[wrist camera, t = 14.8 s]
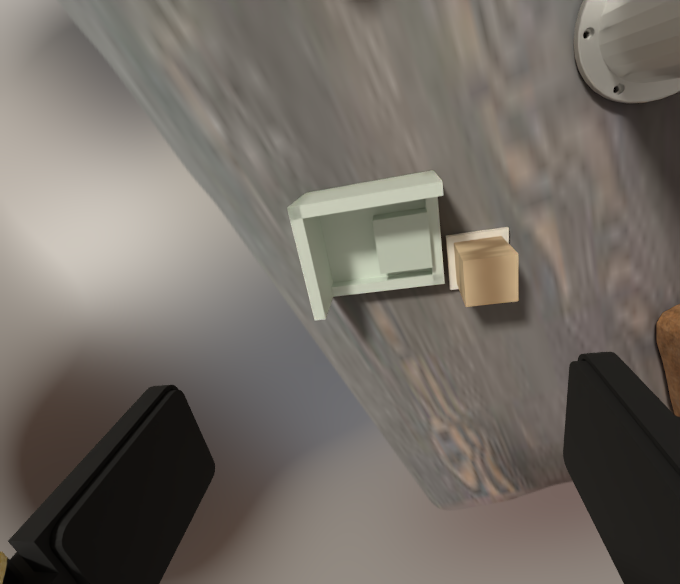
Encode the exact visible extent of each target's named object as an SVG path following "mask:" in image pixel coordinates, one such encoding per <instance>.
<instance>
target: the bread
mask: <svg viewBox="0 0 680 584" xmlns="http://www.w3.org/2000/svg"><path fill="white" fill-rule="evenodd" d="M657 345H658V348H659V352H660V355H661V358H662V361H663V365H664V369H665V374H666V378H667V383H668V389H669V394H670V399H671V403H672V407H673V410H674V414H675V415H676V416H679V417H680V304H679V305H677V306H674V307H672V308H671V309H669V310H667V311H665V312H663V313H662V315H661V317H660V318H659V320H658V322H657Z"/></svg>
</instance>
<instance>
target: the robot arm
mask: <svg viewBox="0 0 680 584" xmlns="http://www.w3.org/2000/svg"><path fill="white" fill-rule="evenodd" d="M584 32H585V33H587V36H586V38H585V39H584V37H583V33H584ZM574 53H575V59H576V63H577V66H578V69H579V72H580V74H581V75H582V77H583V79H584V81H585V82H586V83H587V84H588V85H589V87H590V88H591V89H592V90H593V91H594V92H596V93H597V94H599V95H601V96H602V97H604V98H606V99H609V100H612V101H615V102H620V103H645V102H650V101H655V100H660V99H663V98H665V97H668V96H671V95H673V94H676V93H678V92H679V91H680V0H583V2H582V5H581V7H580V10H579V13H578V17H577V21H576V25H575V33H574ZM614 87H616V91H615V92H613V90H614ZM563 456H564V461H565V465H566V468H567V470H568V472H569V474H570V476H571V478H572V480H573V482H574V484H575V486H576V488H577V490H578V492H579V494H580V496H581V498H582V500H583V502H584V504H585V506H586V508H587V510H588V512H589V514H590V516H591V518H592V520H593V522H594V524H595V526H596V528H597V530H598V532H599V534H600V536H601V538H602V540H603V542H604V544H605V546H606V548H607V550H608V552H609V554H610V556H611V558H612V560H613V562H614V564H615V566H616V568H617V570H618V572H619V575H620V576H621V578H622V581H623V582H624V584H680V417H679V416H676V415H674V414H673V413H672V412H671V411H670V410H669V409H668V408H667V407H666V406H665V405H664V404H663V403H662V402H661V401H660V400H659V398H658V397H657V396H656V395H655V394H654V393H653V392H652V391H651V390H650V389H649V388H648V387H647V386H646V385H645V384H644V383H643V382H642V381H641V380H640V379H639V378H638V377H637V375H636V374H635V373H634V372H633V371H632V370H631V369H630V368H629V367H628V366H627V365H626V364H625V363H624V362H623V361H622V360H621V359H620V358H619V357H618V356H617V355H616V354H615V353H613V352H600V353H587V354H581V355H580V356H579V357H578V361H573V362H571V363H570V367H569V380H568V393H567V407H566V421H565V434H564V448H563ZM214 472H215V463H214V461H213V458H212V456H211V454H210V451H209V449H208V447H207V445H206V443H205V440H204V438H203V436H202V434H201V431H200V429H199V427H198V425H197V423H196V420H195V418H194V416H193V413H192V411H191V409H190V407H189V405H188V403H187V400H186V398H185V396H184V394H183V392H182V391H181V390H178V388H177V387H176V386H174V385H163V386H153V387H150V388H148V389H147V390H146V391H145V392H144V393H143V395H142V396H141V397H140V398H139V399H138V400H137V401H136V402H135V403H134V404H133V405H132V406H131V408H130V409H129V410H128V411H127V412H126V413H125V414H124V415H123V416H122V417H121V418H120V420H119V421H118V422H117V423H116V424H115V425H114V426H113V427H112V428H111V430H110V431H109V432H108V433H107V434H106V435H105V436H104V437H103V438H102V439H101V440H100V441H99V442H98V444H97V445H96V446H95V447H94V448H93V449H92V450H91V451H90V452H89V453H88V455H87V456H86V457H85V458H84V459H83V460H82V461H81V462H80V463H79V464H78V465H77V466H76V468H75V469H74V470H73V471H72V472H71V473H70V474H69V475H68V476H67V477H66V479H65V480H64V481H63V482H62V483H61V484H60V485H59V486H58V487H57V488H56V489H55V490H54V492H53V493H52V494H51V495H50V496H49V497H48V498H47V499H46V500H45V501H44V502H43V503H42V505H41V506H40V507H39V508H38V509H37V510H36V511H35V512H34V513H33V514H32V515H31V517H30V518H29V519H28V520H27V521H26V522H25V523H24V524H23V525H22V526H21V528H20V529H19V530H18V531H17V532H16V533H15V534H14V535H13V536H12V537H11V538H10V540H9V541H8V542H9V543H10V544H11V545H12V546H13V548H14V549H15V550H16V551H17V552H16V553H15V555H14V556H13V557H12V558H11V559H10V560H9V559H8V557H7V556H6V555H5V554H4V553H3V552H0V584H159V583H160V581H161V579H162V577H163V575H164V573H165V571H166V569H167V567H168V565H169V563H170V561H171V559H172V557H173V555H174V553H175V551H176V549H177V547H178V545H179V543H180V541H181V540H182V538H183V536H184V533H185V532H186V529H187V528H188V526H189V524H190V522H191V520H192V518H193V516H194V513H195V512H196V510H197V508H198V506H199V504H200V502H201V499H202V498H203V496H204V494H205V492H206V490H207V488H208V486H209V484H210V482H211V480H212V478H213V476H214Z"/></svg>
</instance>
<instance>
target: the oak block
mask: <svg viewBox="0 0 680 584" xmlns="http://www.w3.org/2000/svg"><path fill="white" fill-rule="evenodd" d="M454 254H455V268H456V281H457V286H458V288H459V291H460V293H461V296H462V298H463V301H464V303H465V306H466V307H470V306H479V305H488V304H498V303H507V302H516V301H518V253H517V252H516V251H515V250H514V249H513V248H512V247H511V246H510V245H509V243H508V242H507V241H506V240H505V239H504V238H503V237H502V236H496V237H489V238H482V239H475V240H469V241H462V242H455V243H454Z"/></svg>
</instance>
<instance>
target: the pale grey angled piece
mask: <svg viewBox="0 0 680 584" xmlns="http://www.w3.org/2000/svg"><path fill="white" fill-rule="evenodd" d="M438 196H443V183H442V180H441V179H440V178H439V177H438V175H437V174H436V173H435V172H434V171H433V170H431V171H426V172H420V173H414V174H409V175H403V176H397V177H392V178H386V179H380V180H375V181H369V182H363V183H358V184H352V185H347V186H341V187H335V188H330V189H324V190H318V191H313V192H307V193H305V194H303V195H302V196H301V197H300V198H299V199H297V200H296V201H295V202H294V203H292V204H291V205H290V206H289V207H288V208H287V210H288V214H289V218H290V222H291V226H292V230H293V234H294V238H295V242H296V246H297V250H298V254H299V258H300V262H301V267H302V271H303V275H304V279H305V283H306V287H307V291H308V295H309V299H310V303H311V307H312V311H313V315H314V319H315V320H324V319H326V317H327V314H328V311H329V308H330V305H331V302H332V299H333V297H335V296H344V295H352V294H361V293H370V292H378V291H387V290H395V289H404V288H412V287H421V286H429V285H438V284H445V282H444V270H443V257H442V245H441V233H440V220H439V208H438Z"/></svg>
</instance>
